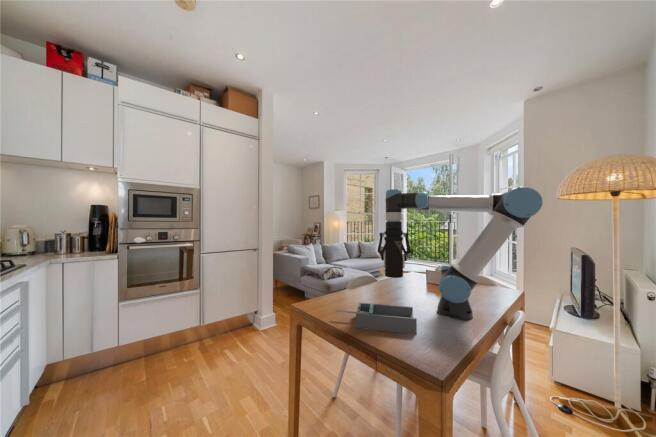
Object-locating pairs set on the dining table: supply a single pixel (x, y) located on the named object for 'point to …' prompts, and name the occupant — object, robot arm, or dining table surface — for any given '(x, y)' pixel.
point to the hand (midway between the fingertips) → (393, 267)
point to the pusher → (360, 312)
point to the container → (393, 257)
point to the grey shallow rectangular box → (386, 318)
